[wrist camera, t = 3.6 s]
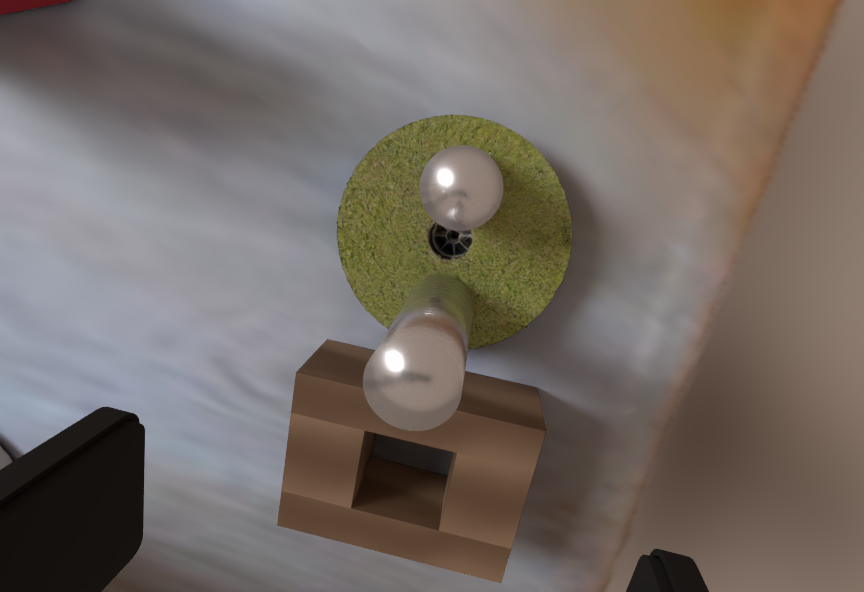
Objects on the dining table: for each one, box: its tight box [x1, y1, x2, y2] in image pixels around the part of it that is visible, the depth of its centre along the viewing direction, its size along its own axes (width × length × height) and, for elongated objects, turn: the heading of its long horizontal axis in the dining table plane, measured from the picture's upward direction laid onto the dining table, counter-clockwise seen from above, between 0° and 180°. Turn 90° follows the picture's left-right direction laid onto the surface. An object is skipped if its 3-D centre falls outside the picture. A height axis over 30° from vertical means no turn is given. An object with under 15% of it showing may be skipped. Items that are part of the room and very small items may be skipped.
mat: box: [337, 115, 572, 349], centre depth 24 cm, size 11×11×2 cm
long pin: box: [363, 275, 474, 431], centre depth 20 cm, size 3×3×9 cm
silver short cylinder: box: [420, 145, 503, 231], centre depth 21 cm, size 3×3×4 cm
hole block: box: [277, 339, 546, 583], centre depth 26 cm, size 9×12×4 cm
